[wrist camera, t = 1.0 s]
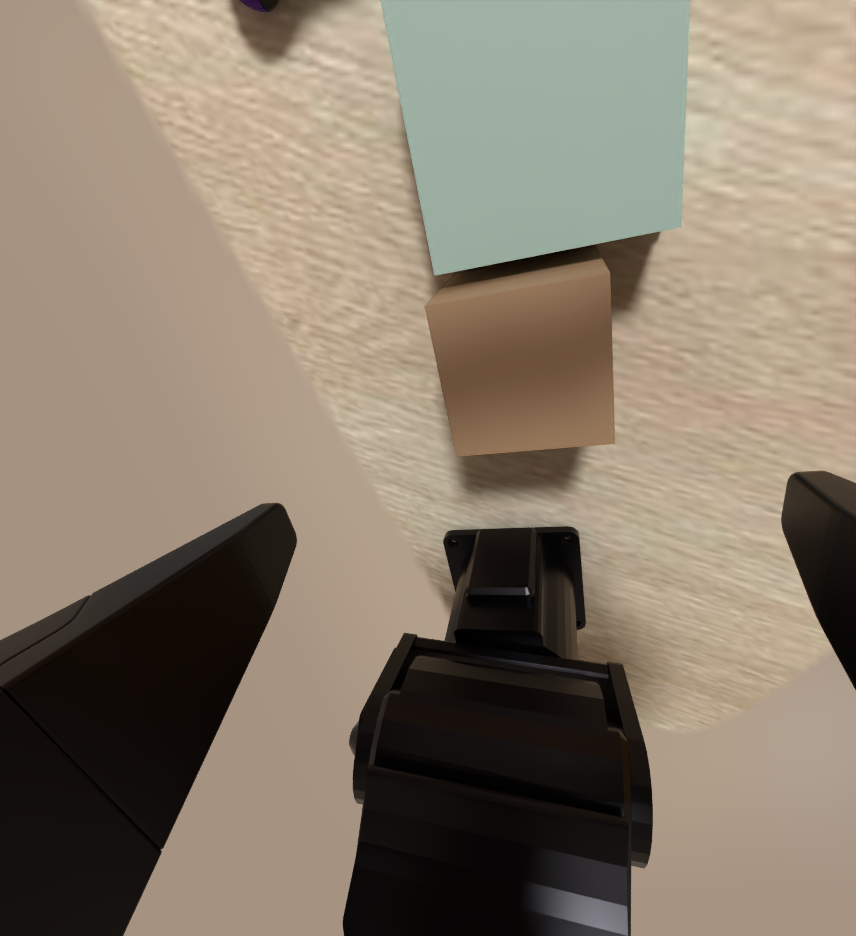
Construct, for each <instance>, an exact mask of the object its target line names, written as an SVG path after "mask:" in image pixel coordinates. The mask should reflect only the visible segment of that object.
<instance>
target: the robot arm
mask: <svg viewBox="0 0 856 936" xmlns="http://www.w3.org/2000/svg"><path fill="white" fill-rule="evenodd" d="M781 523H782V529H783V532H784V535H785V538H786V540H787V543H788V545H789V548H790V551H791V553H792V556H793V558H794V561H795V564H796V566H797V569H798V571H799V574H800V577H801V579H802V582H803V584H804V587H805V590H806V592H807V595H808V597H809V600H810V603H811V605H812V607H813V610H814V612H815V614H816V617H817V619H818V621H819V623H820V625H821V627H822V629H823V631H824V633H825V634H826V636H827V638H828V640H829V642H830V644H831V645H832V647H833V649H834V651H835V653H836V655H837V657H838V658H839V660H840V662H841V664H842V666H843V668H844V669H845V671H846V673H847V675H848V677H849V679H850V681H851V682H852V684H853V686H854V688H855V689H856V483H855V482H852V481H849V480H847V479H844V478H842V477H839V476H837V475H834V474H832V473H829V472H826V471H806V472H795V473H793V474H792V475H790V477H789V479H788V482H787V487H786V493H785V498H784V504H783V510H782V517H781ZM565 536H571V537H572V538H571V539H565V538H564V537H565ZM451 539H454V540H456V541H457V542H453V541H451ZM296 543H297V538H296V533H295V530H294V528H293V526H292V523H291V521H290V519H289V516H288V514H287V512H286V509H285V508H284V506H283V505H282V504H279V503H266V504H261V505H259V506H257V507H255V508H253V509H251V510H249V511H247V512H245V513H244V514H242V515H240V516H238V517H236V518H234V519H232V520H230V521H228V522H226V523H225V524H223V525H221V526H219V527H217V528H215V529H213V530H212V531H210V532H207V533H206V534H204V535H202V536H200V537H198V538H196V539H194V540H192V541H191V542H189V543H187V544H185V545H183V546H181V547H179V548H177V549H176V550H173V551H171V552H170V553H168V554H166V555H164V556H162V557H160V558H158V559H156V560H155V561H153V562H151V563H149V564H147V565H145V566H144V567H141V568H139V569H137V570H135V571H134V572H132V573H130V574H128V575H126V576H124V577H122V578H121V579H118V580H117V581H115V582H113V583H111V584H109V585H107V586H105V587H104V588H101V589H100V590H98V591H96V592H94V593H93V594H92V595H91V596H86V597H84V598H83V599H80V600H78V601H77V602H75V603H73V604H71V605H69V606H67V607H65V608H63V609H62V610H59V611H57V612H55V613H54V614H52V615H50V616H48V617H46V618H44V619H42V620H40V621H38V622H36V623H34V624H32V625H30V626H28V627H26V628H24V629H22V630H20V631H18V632H16V633H14V634H12V635H10V636H8V637H6V638H4V639H2V640H0V936H123V935H124V933H125V931H126V928H127V926H128V924H129V922H130V920H131V918H132V915H133V913H134V911H135V909H136V907H137V905H138V903H139V900H140V898H141V896H142V894H143V892H144V889H145V887H146V885H147V883H148V881H149V879H150V876H151V874H152V872H153V870H154V868H155V866H156V864H157V861H158V859H159V857H160V855H161V849H163V847H164V845H165V843H166V841H167V839H168V837H169V834H170V833H171V830H172V828H173V826H174V824H175V822H176V819H177V817H178V815H179V813H180V811H181V809H182V807H183V805H184V802H185V800H186V798H187V796H188V794H189V792H190V789H191V787H192V785H193V783H194V781H195V779H196V777H197V774H198V772H199V770H200V768H201V765H202V764H203V761H204V759H205V757H206V755H207V753H208V751H209V748H210V746H211V744H212V742H213V740H214V738H215V736H216V733H217V731H218V729H219V727H220V725H221V723H222V720H223V718H224V716H225V714H226V712H227V710H228V707H229V705H230V703H231V701H232V699H233V697H234V695H235V692H236V690H237V688H238V686H239V684H240V682H241V679H242V677H243V675H244V673H245V671H246V669H247V667H248V664H249V662H250V660H251V658H252V656H253V654H254V651H255V649H256V647H257V645H258V643H259V641H260V638H261V636H262V634H263V632H264V630H265V627H266V626H267V623H268V621H269V619H270V617H271V614H272V612H273V610H274V607H275V605H276V602H277V599H278V597H279V594H280V591H281V588H282V585H283V582H284V579H285V577H286V574H287V571H288V568H289V565H290V562H291V559H292V556H293V554H294V550H295V548H296ZM443 543H444V547H445V551H446V555H447V559H448V563H449V567H450V571H451V575H452V579H453V583H454V587H455V591H456V594H455V598H454V602H453V607H452V611H451V615H450V620H449V624H448V628H447V633H446V637H445V641H440V640H434V639H427V638H420V637H417V635H415V634H408V633H404V634H403V636H402V638H401V640H400V642H399V644H398V646H397V648H395V649H394V650H393V652H392V654H391V656H390V658H389V660H388V662H387V664H386V666H385V667H384V669H383V671H382V673H381V675H380V677H379V679H378V681H377V683H376V685H375V687H374V688H373V690H372V692H371V694H370V696H369V698H368V700H367V702H366V704H365V706H364V708H363V710H362V712H361V714H360V718H359V722H358V723H357V724H356V725H355V726H354V728H353V729H352V732H351V735H350V740H349V745H350V748H351V750H352V752H353V754H354V756H355V760H354V769H353V792H354V798H355V800H356V802H357V803H358V804H363V809H362V816H361V823H360V831H359V838H358V846H357V853H356V859H355V864H354V868H353V874H352V878H351V883H350V888H349V892H348V898H347V902H346V907H345V912H344V917H343V931H344V936H631V865H632V866H636V867H640V868H645V867H646V865H647V864H648V860H649V856H650V851H651V844H652V826H653V805H652V787H651V778H650V768H649V762H648V757H647V751H646V747H645V742H644V739H643V735H642V732H641V728H640V724H639V721H638V717H637V714H636V710H635V707H634V703H633V700H632V696H631V693H630V689H629V686H628V682H627V678H626V675H625V671H624V668H623V665H622V664H619V663H612V662H607V664H601V663H594V662H587V661H580V660H578V650H577V630H579V629H582V628H584V627H585V624H586V621H585V607H584V594H583V580H582V567H581V554H580V540H579V533H578V531H577V530H576V529H575V528H573V527H568V526H566V527H535V528H502V529H475V530H451V531H448V532H447V533H446V534H445V537H444V540H443Z"/></svg>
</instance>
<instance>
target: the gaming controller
mask: <svg viewBox="0 0 856 936" xmlns="http://www.w3.org/2000/svg"><path fill="white" fill-rule="evenodd" d="M240 1H241V2H242V3H244V4H245V5H247V6H248V7H250V8H252V9H254V10H258V11H263V12H269V11H270V10H272V9H273V8H274V7H275V5H276V3H277V1H278V0H240Z"/></svg>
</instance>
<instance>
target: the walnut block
mask: <svg viewBox="0 0 856 936" xmlns="http://www.w3.org/2000/svg"><path fill="white" fill-rule="evenodd" d="M425 310H426V315H427V319H428V324H429V329H430V334H431V338H432V343H433V348H434V353H435V357H436V362H437V367H438V372H439V376H440V381H441V386H442V391H443V395H444V400H445V405H446V410H447V414H448V419H449V424H450V428H451V433H452V438H453V443H454V447H455V452H456V457H458V456H470V455H482V454H495V453H507V452H519V451H532V450H544V449H557V448H569V447H581V446H594V445H606V444H615V428H614V391H613V355H612V319H611V282H610V271H609V270H608V268H607V266H606V264H605V262H604V261H603V259H602V257H601V255H600V254H599V252H598V250H597V248H596V247H593V248H588V249H583V250H577V251H572V252H567V253H562V254H557V255H552V256H547V257H542V258H536V259H531V260H526V261H521V262H516V263H511V264H506V265H501V266H496V267H490V268H485V269H480V270H475V271H470V272H465V273H460V274H455V275H453V276H452V277H451V278H450V279H449V280H448V282H447V283H446V284H445V285H444V286H443V287H442V288H441V289H440V290H439V291H438V292H437V293H436V294H435V295H434V297H433V298H432V299H431V300H430V301H429V302H428V303H427V304H426V305H425Z"/></svg>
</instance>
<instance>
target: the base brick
mask: <svg viewBox="0 0 856 936" xmlns="http://www.w3.org/2000/svg"><path fill="white" fill-rule="evenodd" d="M381 5H382V10H383V15H384V20H385V25H386V31H387V36H388V41H389V46H390V51H391V56H392V61H393V66H394V72H395V77H396V82H397V87H398V92H399V97H400V102H401V107H402V113H403V118H404V123H405V128H406V133H407V138H408V143H409V148H410V154H411V159H412V164H413V169H414V174H415V179H416V184H417V190H418V195H419V200H420V205H421V210H422V215H423V220H424V225H425V231H426V236H427V241H428V246H429V251H430V256H431V261H432V266H433V272H434V276H436V275H441V274H446V273H451V272H456V271H461V270H466V269H471V268H477V267H482V266H487V265H492V264H497V263H502V262H507V261H512V260H517V259H522V258H528V257H533V256H538V255H543V254H548V253H553V252H558V251H563V250H568V249H573V248H578V247H584V246H589V245H594V244H599V243H604V242H609V241H614V240H619V239H624V238H629V237H635V236H640V235H645V234H650V233H655V232H660V231H665V230H670V229H675V228H680V227H681V219H682V193H683V168H684V143H685V117H686V92H687V67H688V41H689V16H690V0H381Z"/></svg>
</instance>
